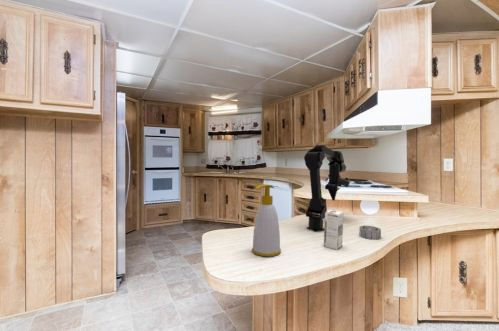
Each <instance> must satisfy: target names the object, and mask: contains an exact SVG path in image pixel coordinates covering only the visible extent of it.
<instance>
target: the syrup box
mask: <svg viewBox="0 0 499 331" xmlns="http://www.w3.org/2000/svg"><path fill="white" fill-rule="evenodd" d="M323 229H324V230H323V232H324V234H323V247H326V248H329V249H333V250H339V249H340V248H341V247H342V246H343V232H344V212H343V211H340V210H335V209H331V210H330V209H329V210H327V212H325V218H324V228H323Z"/></svg>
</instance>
